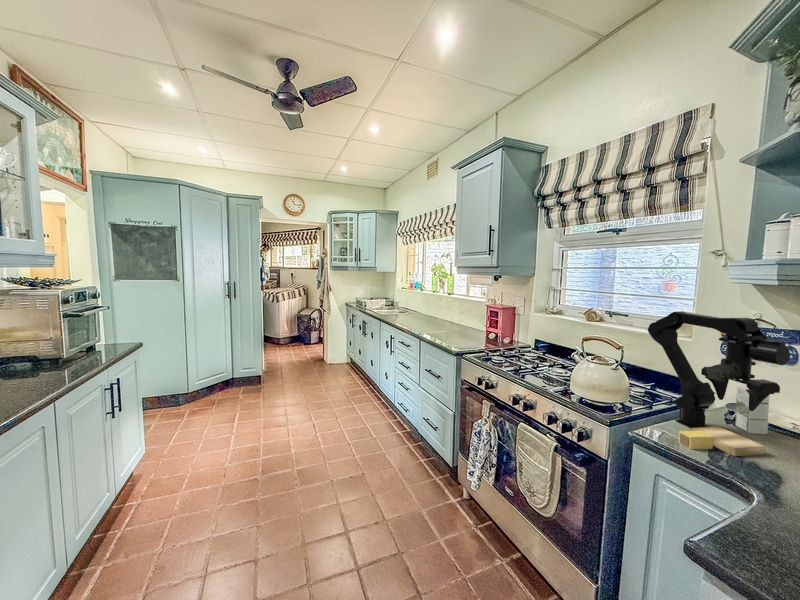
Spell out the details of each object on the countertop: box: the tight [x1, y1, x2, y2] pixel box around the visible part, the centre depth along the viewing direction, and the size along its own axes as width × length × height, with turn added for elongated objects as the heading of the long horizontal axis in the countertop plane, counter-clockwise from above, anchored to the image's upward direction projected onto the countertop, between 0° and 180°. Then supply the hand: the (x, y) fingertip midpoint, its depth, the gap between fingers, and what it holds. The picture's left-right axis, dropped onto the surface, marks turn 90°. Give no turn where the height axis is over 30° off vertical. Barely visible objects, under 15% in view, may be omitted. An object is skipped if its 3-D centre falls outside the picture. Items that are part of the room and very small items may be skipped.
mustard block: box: [678, 430, 714, 450], centre depth 101 cm, size 4×4×7 cm
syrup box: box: [734, 386, 770, 435], centre depth 111 cm, size 6×6×14 cm
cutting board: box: [691, 426, 766, 457], centre depth 102 cm, size 13×10×2 cm
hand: (735, 405), depth 103 cm, fingers open, 9 cm apart
